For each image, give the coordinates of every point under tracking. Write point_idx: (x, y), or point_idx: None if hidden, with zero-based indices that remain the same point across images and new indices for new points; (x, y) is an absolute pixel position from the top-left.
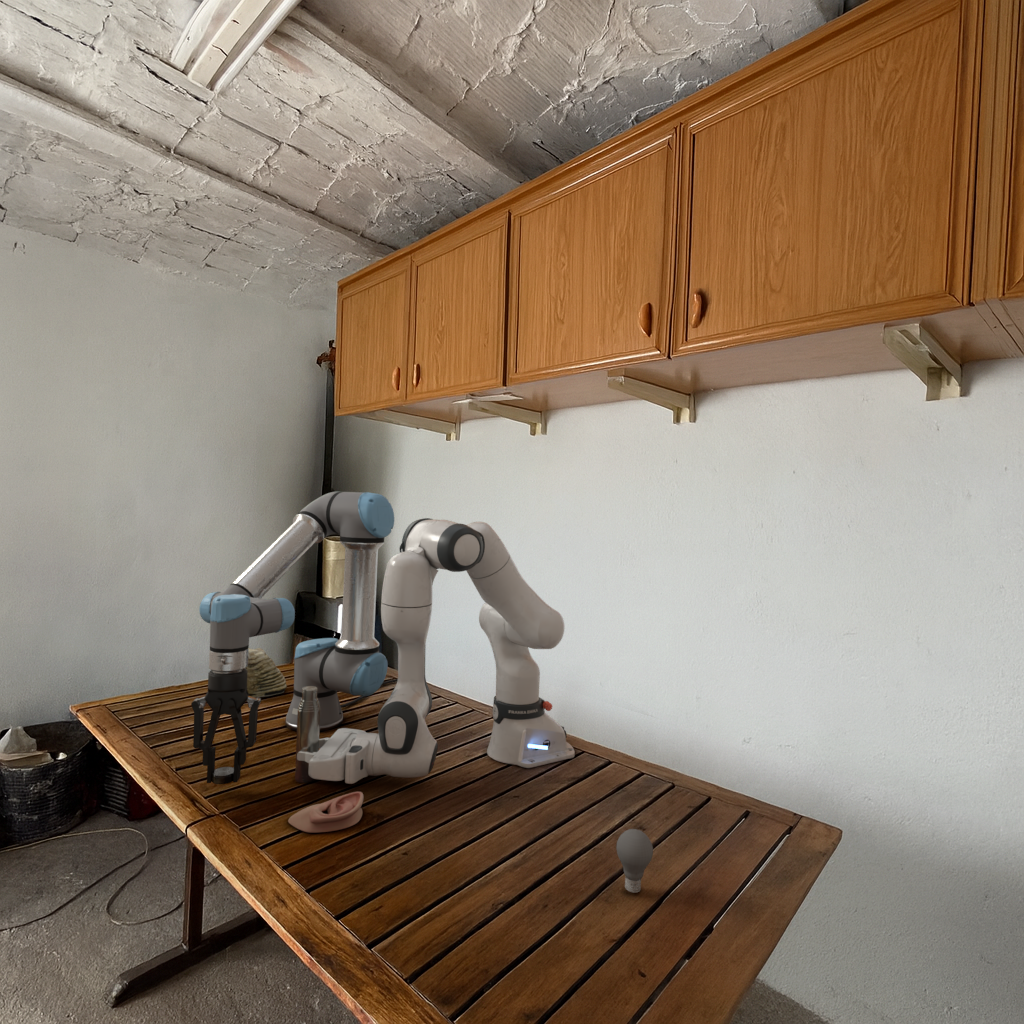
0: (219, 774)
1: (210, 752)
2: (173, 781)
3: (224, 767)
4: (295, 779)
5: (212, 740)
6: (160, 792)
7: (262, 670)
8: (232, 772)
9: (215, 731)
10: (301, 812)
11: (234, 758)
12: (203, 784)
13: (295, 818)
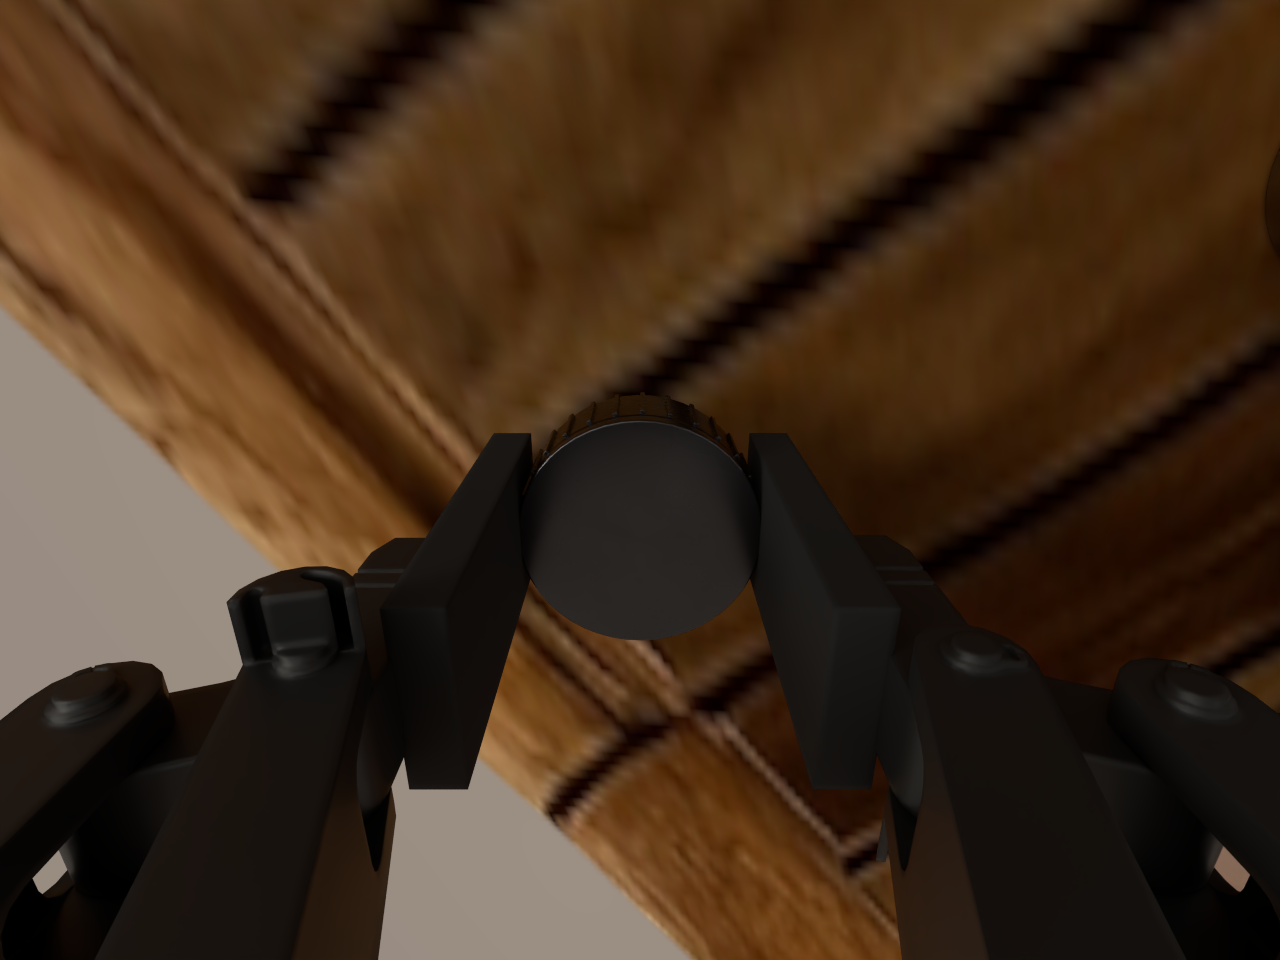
0: (615, 609)
1: (449, 779)
2: (81, 140)
3: (618, 441)
4: (1271, 215)
5: (352, 752)
6: (112, 376)
7: None
8: (739, 573)
9: (309, 921)
10: (1231, 872)
11: (793, 711)
12: (405, 238)
13: None
